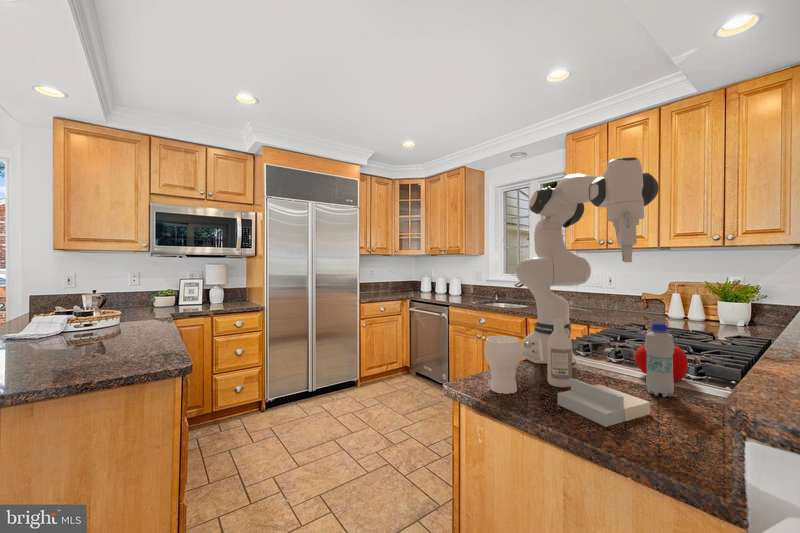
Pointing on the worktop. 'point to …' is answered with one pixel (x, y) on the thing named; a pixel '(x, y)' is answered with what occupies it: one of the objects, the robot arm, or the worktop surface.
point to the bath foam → (559, 356)
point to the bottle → (659, 361)
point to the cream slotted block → (631, 404)
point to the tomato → (678, 362)
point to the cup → (503, 362)
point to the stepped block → (593, 403)
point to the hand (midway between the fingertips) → (627, 262)
